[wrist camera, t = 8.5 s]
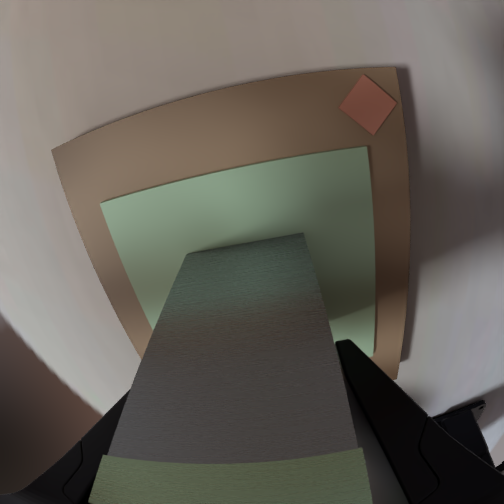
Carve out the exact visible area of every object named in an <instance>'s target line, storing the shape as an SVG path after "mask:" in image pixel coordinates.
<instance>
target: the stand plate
mask: <svg viewBox="0 0 504 504" xmlns="http://www.w3.org/2000/svg"><path fill="white" fill-rule="evenodd" d="M51 151H52V154H53V158H54V161H55V164H56V168H57V171H58V174H59V177H60V180H61V183H62V186H63V189H64V192H65V195H66V198H67V201H68V204H69V207H70V209H71V212H72V215H73V217H74V220H75V223H76V225H77V228H78V230H79V233H80V236H81V238H82V240H83V243H84V245H85V248H86V250H87V252H88V255H89V257H90V259H91V262H92V264H93V266H94V269H95V271H96V273H97V275H98V277H99V280H100V282H101V284H102V286H103V288H104V290H105V292H106V294H107V296H108V298H109V300H110V302H111V304H112V306H113V308H114V310H115V312H116V314H117V316H118V318H119V320H120V322H121V324H122V326H123V328H124V329H125V331H126V333H127V335H128V337H129V339H130V340H131V342H132V344H133V346H134V348H135V349H136V351H137V353H138V355H139V356H140V358H141V360H142V358H143V355H144V353H145V350H146V348H147V345H148V343H149V340H150V338H151V335H152V333H153V330H154V328H155V326H156V323H157V321H158V318H159V316H160V313H161V311H162V309H163V306H164V304H165V302H166V299H167V297H168V295H169V292H170V290H171V288H172V285H173V283H174V281H175V279H176V276H177V274H178V272H179V270H180V267H181V265H182V263H183V261H184V258H185V256H186V254H188V253H194V252H199V251H204V250H210V249H215V248H220V247H226V246H231V245H236V244H242V243H247V242H253V241H258V240H264V239H269V238H274V237H280V236H285V235H291V234H296V233H302V232H303V233H304V236H305V240H306V243H307V246H308V250H309V253H310V256H311V260H312V263H313V267H314V270H315V273H316V277H317V280H318V284H319V288H320V291H321V295H322V298H323V302H324V306H325V309H326V313H327V317H328V321H329V324H330V328H331V332H332V336H333V340H334V344H335V342H336V341H339V340H344V339H350V340H352V341H353V342H354V343H355V344H356V345H357V346H358V347H359V348H360V349H361V350H362V351H363V352H364V353H365V354H366V355H367V356H368V357H369V358H370V359H371V360H372V361H373V362H374V363H375V364H376V365H377V366H378V367H380V368H381V369H382V370H383V371H384V372H385V373H386V374H387V375H388V376H389V377H390V378H391V379H392V380H395V379H397V375H398V369H399V363H400V356H401V350H402V343H403V335H404V327H405V318H406V308H407V296H408V282H409V264H410V186H409V168H408V155H407V143H406V134H405V125H404V117H403V109H402V102H401V96H400V89H399V83H398V78H397V72H396V67H376V68H357V69H344V70H332V71H323V72H314V73H306V74H299V75H292V76H285V77H279V78H273V79H267V80H262V81H257V82H252V83H247V84H242V85H237V86H233V87H228V88H224V89H220V90H216V91H211V92H208V93H204V94H200V95H196V96H192V97H189V98H185V99H182V100H178V101H175V102H172V103H168V104H165V105H162V106H159V107H156V108H153V109H150V110H147V111H144V112H141V113H138V114H135V115H132V116H130V117H127V118H124V119H121V120H119V121H116V122H114V123H111V124H108V125H106V126H103V127H101V128H98V129H96V130H94V131H91V132H89V133H87V134H84V135H82V136H80V137H77V138H75V139H73V140H71V141H69V142H66V143H64V144H62V145H60V146H58V147H56V148H54V149H52V150H51Z"/></svg>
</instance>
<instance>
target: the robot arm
mask: <svg viewBox="0 0 504 504" xmlns="http://www.w3.org/2000/svg"><path fill="white" fill-rule="evenodd" d="M335 348H336V352H337V356H338V360H339V364H340V368H341V372H342V376H343V380H344V385H345V389H346V393H347V398H348V402H349V407H350V411H351V416H352V420H353V425H354V430H355V435H356V440H357V444H358V448H361V447H362V449H363V454H364V459H365V464H366V469H367V474H368V479H369V485H370V490H371V496H372V501H373V504H504V461H503V462H502V464H500V465H499V466H497V467H495V465H494V463H493V460H492V458H491V456H490V453H489V450H488V446H487V444H486V441H485V439H484V437H483V434H482V432H481V430H480V428H479V425H478V423H477V420H478V419H479V417H480V415H481V414H482V412H483V410H484V408H485V407H486V403H485V401H484V400H482V401H479V402H477V403H475V404H472V405H470V406H468V407H465V408H463V409H460V410H458V411H455V412H452V413H450V414H447V415H444V416H441V417H439V418H436V419H432V418H431V417H430V416H428V414H427V413H426V412H425V411H424V410H423V409H422V408H421V407H420V406H419V405H418V404H417V403H416V402H415V401H414V400H413V399H411V398H410V397H409V396H408V395H407V394H406V393H405V392H404V391H403V390H402V389H401V388H400V387H399V386H398V385H397V384H396V383H395V382H394V381H393V380H392V379H391V378H390V377H389V376H388V375H387V374H386V373H385V372H384V371H383V370H382V369H381V368H380V367H378V366H377V365H376V364H375V363H374V362H373V361H372V360H371V359H370V358H369V357H368V356H367V355H366V354H365V353H364V352H363V351H362V350H361V349H360V348H359V347H358V346H357V345H356V344H355V343H354V342H353V341H352V340H350V339H344V340H339V341H336V342H335ZM129 392H130V390H129V391H128V392H127V393H126V394H125V395H124V396H123V397H122V398H121V399H120V400H119V401H118V402H117V403H116V404H115V405H114V406H113V407H112V408H111V409H110V410H109V411H108V412H107V413H106V414H105V415H104V416H103V417H102V418H101V419H100V420H99V421H98V422H97V423H96V424H95V425H94V426H93V427H92V428H91V429H90V430H89V431H88V432H87V433H86V434H85V435H84V436H83V437H82V438H81V440H80V441H78V442H77V443H76V444H75V445H74V446H73V447H72V448H71V449H70V450H69V451H68V452H67V453H66V454H65V455H64V456H63V457H62V458H61V459H60V460H58V461H57V462H56V463H55V464H54V465H53V466H51V467H50V468H49V469H48V470H46V471H45V472H44V473H43V474H42V475H40V476H39V477H38V478H37V479H35V480H34V481H33V482H32V483H30V484H29V485H28V486H27V487H25V488H24V489H22V490H20V491H18V492H15V493H11V494H3V495H0V504H90V503H89V502H88V501H89V497H90V494H91V491H92V488H93V484H94V481H95V478H96V475H97V472H98V469H99V466H100V463H101V460H102V456H103V455H108V452H109V449H110V446H111V443H112V440H113V437H114V434H115V431H116V428H117V425H118V422H119V419H120V417H121V414H122V411H123V408H124V405H125V403H126V400H127V397H128V394H129Z"/></svg>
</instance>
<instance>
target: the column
mask: <svg viewBox="0 0 504 504" xmlns="http://www.w3.org/2000/svg"><path fill="white" fill-rule="evenodd" d="M88 502H89V503H90V504H373V501H372V496H371V490H370V485H369V479H368V474H367V469H366V464H365V459H364V454H363V449H362V447H361V448H358V444H357V440H356V435H355V430H354V425H353V420H352V416H351V411H350V407H349V402H348V398H347V393H346V389H345V385H344V380H343V376H342V372H341V368H340V364H339V360H338V356H337V352H336V348H335V344H334V340H333V336H332V332H331V328H330V324H329V321H328V317H327V313H326V309H325V306H324V302H323V298H322V295H321V291H320V288H319V284H318V280H317V277H316V273H315V270H314V267H313V263H312V260H311V256H310V253H309V250H308V246H307V243H306V240H305V236H304V233H303V232H302V233H296V234H291V235H285V236H280V237H274V238H269V239H264V240H258V241H253V242H247V243H242V244H236V245H231V246H226V247H220V248H215V249H210V250H204V251H199V252H194V253H188V254H186V256H185V258H184V261H183V263H182V265H181V267H180V270H179V272H178V274H177V276H176V279H175V281H174V283H173V285H172V288H171V290H170V292H169V295H168V297H167V299H166V302H165V304H164V306H163V309H162V311H161V313H160V316H159V318H158V321H157V323H156V326H155V328H154V330H153V333H152V335H151V338H150V340H149V343H148V345H147V348H146V350H145V353H144V355H143V358H142V360H141V363H140V365H139V368H138V371H137V373H136V376H135V378H134V381H133V384H132V386H131V389H130V392H129V394H128V397H127V400H126V403H125V405H124V408H123V411H122V414H121V417H120V419H119V422H118V425H117V428H116V431H115V434H114V437H113V440H112V443H111V446H110V449H109V452H108V455H103V456H102V460H101V463H100V466H99V469H98V472H97V475H96V478H95V481H94V484H93V488H92V491H91V494H90V497H89V501H88Z"/></svg>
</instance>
